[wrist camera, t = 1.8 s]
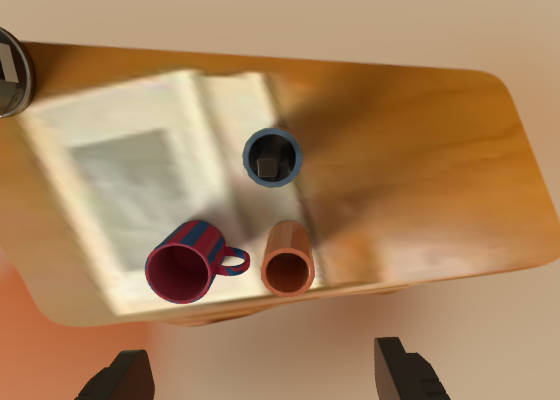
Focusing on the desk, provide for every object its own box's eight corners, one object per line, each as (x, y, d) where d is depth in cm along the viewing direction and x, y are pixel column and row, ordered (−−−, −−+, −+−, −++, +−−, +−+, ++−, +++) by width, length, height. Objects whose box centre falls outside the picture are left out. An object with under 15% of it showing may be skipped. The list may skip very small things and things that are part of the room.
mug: (171, 217, 36) (144, 238, 30) (256, 226, 36) (248, 250, 30) (170, 269, 38) (144, 300, 31) (251, 278, 38) (243, 311, 31)
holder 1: (244, 151, 34) (230, 160, 26) (275, 116, 33) (269, 115, 25) (279, 182, 35) (274, 199, 27) (309, 148, 34) (314, 156, 26)
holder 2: (258, 242, 37) (249, 274, 29) (286, 212, 36) (285, 237, 28) (290, 268, 37) (289, 307, 29) (319, 239, 36) (325, 271, 28)
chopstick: (271, 156, 33) (258, 177, 21) (270, 145, 33) (257, 159, 21) (282, 155, 33) (276, 176, 21) (281, 144, 33) (275, 158, 21)
